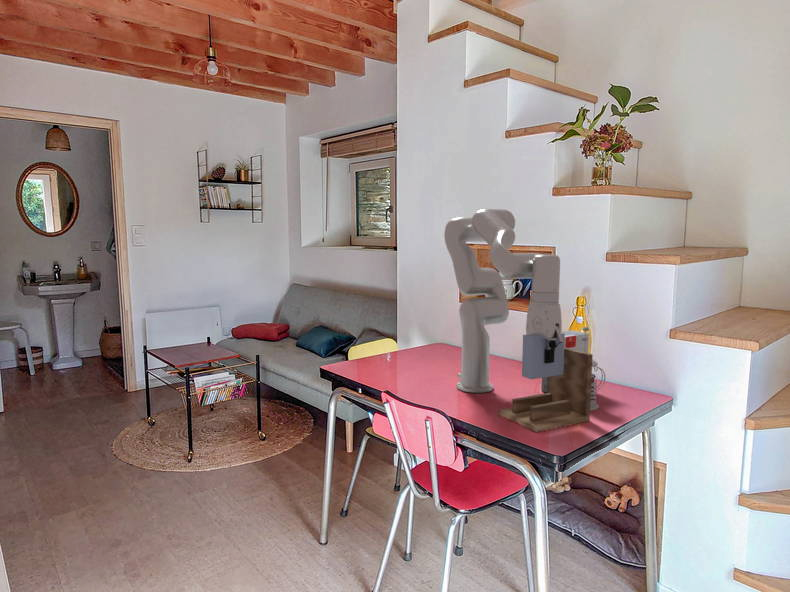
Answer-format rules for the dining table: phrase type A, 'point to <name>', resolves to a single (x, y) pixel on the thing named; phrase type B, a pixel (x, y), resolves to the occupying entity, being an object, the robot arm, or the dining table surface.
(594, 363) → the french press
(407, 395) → the dining table surface
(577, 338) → the hard drive box
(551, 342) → the robot arm
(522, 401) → the book rack
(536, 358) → the book
